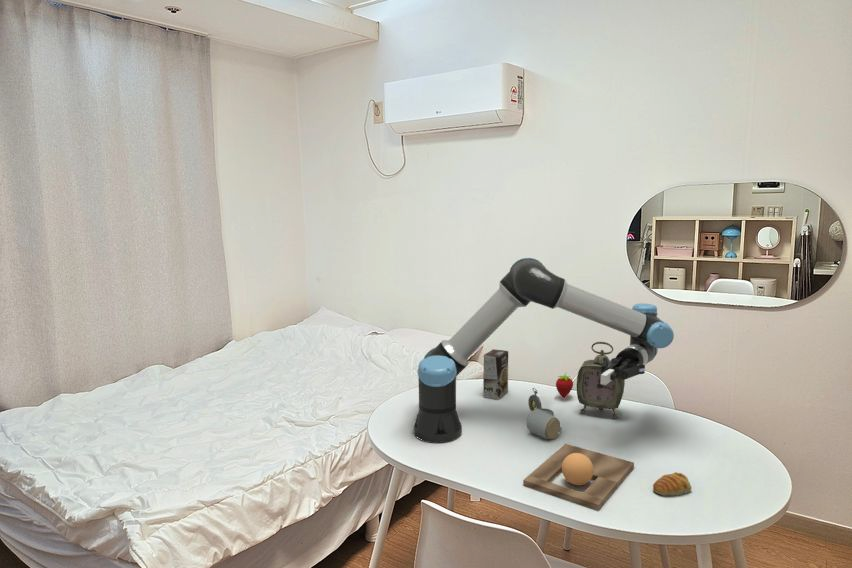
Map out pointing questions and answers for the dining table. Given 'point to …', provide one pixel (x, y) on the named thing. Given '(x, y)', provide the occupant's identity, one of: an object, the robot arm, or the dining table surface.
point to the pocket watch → (537, 403)
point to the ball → (577, 469)
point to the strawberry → (564, 385)
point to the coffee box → (495, 374)
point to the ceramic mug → (543, 424)
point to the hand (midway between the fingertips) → (603, 379)
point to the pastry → (672, 484)
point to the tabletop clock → (598, 385)
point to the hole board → (605, 478)
